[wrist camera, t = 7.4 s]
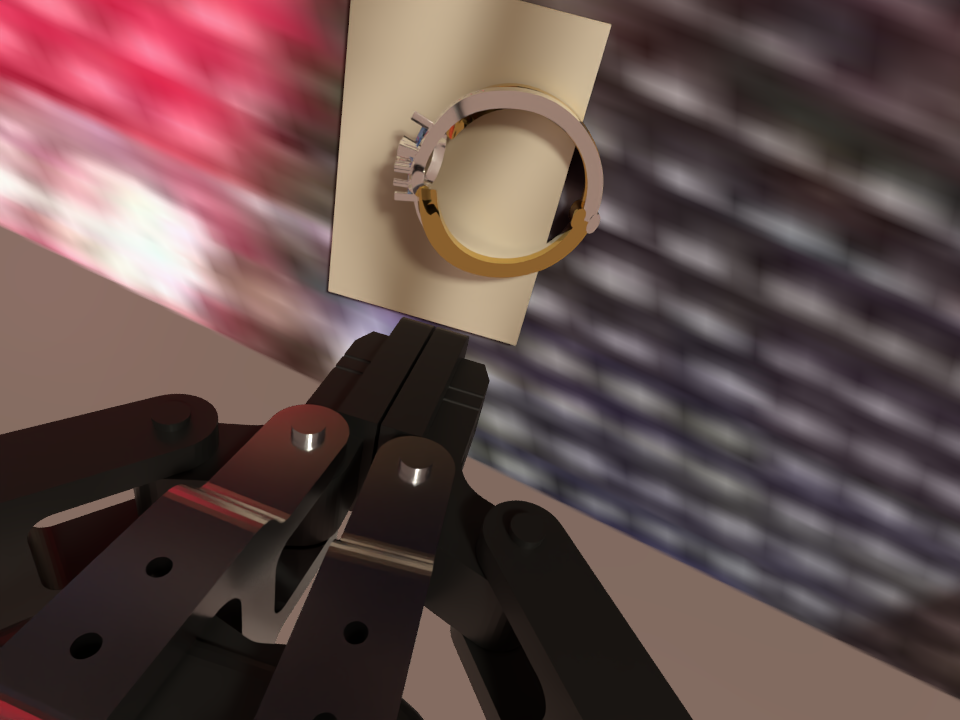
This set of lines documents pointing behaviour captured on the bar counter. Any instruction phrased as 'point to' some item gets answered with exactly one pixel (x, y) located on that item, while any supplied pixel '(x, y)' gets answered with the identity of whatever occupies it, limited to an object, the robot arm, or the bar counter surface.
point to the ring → (417, 155)
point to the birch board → (454, 151)
